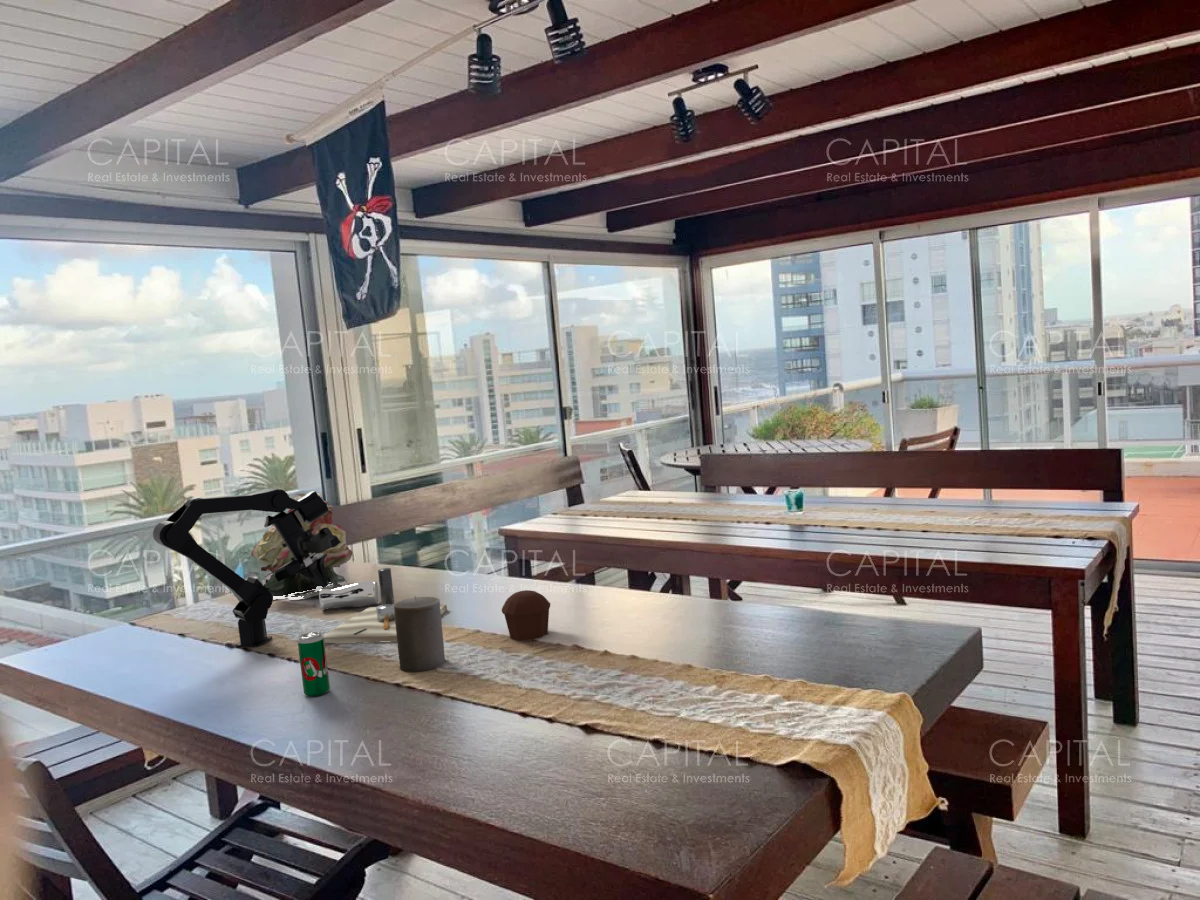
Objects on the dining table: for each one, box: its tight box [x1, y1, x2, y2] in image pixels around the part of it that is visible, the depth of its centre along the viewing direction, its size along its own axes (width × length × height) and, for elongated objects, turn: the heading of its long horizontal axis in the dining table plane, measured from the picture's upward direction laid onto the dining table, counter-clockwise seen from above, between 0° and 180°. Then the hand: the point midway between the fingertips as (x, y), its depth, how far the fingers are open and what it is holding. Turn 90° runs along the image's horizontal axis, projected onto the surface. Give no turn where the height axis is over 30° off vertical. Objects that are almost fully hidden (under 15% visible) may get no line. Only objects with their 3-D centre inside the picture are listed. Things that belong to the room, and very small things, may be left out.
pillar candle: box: [394, 595, 446, 673], centre depth 192 cm, size 10×10×15 cm
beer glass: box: [318, 579, 380, 610], centre depth 248 cm, size 7×7×15 cm
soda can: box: [297, 631, 331, 698], centre depth 180 cm, size 5×5×12 cm
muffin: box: [501, 589, 551, 642], centre depth 207 cm, size 12×11×10 cm
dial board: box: [322, 604, 448, 644], centre depth 225 cm, size 26×22×2 cm
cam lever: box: [375, 567, 396, 629], centre depth 225 cm, size 18×5×11 cm, turn 10°
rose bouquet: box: [250, 492, 353, 600], centre depth 271 cm, size 26×29×30 cm
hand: (325, 586), depth 228 cm, fingers closed
